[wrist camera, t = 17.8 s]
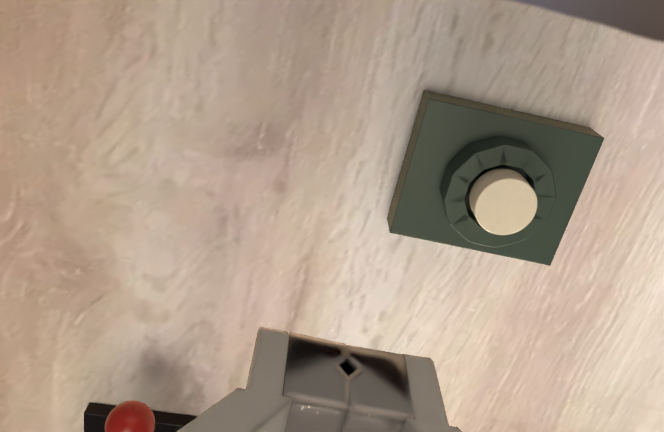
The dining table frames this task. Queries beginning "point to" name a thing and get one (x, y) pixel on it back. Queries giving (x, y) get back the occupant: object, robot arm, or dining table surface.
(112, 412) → the switch lever
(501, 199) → the button
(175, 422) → the switch bracket
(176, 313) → the dining table surface
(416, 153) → the control block
